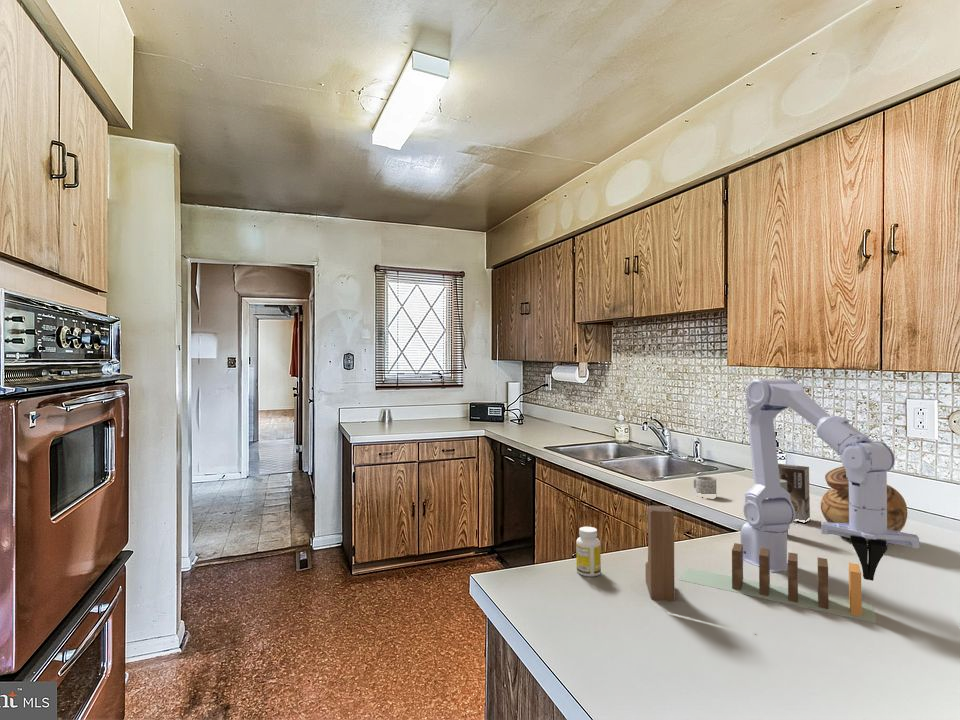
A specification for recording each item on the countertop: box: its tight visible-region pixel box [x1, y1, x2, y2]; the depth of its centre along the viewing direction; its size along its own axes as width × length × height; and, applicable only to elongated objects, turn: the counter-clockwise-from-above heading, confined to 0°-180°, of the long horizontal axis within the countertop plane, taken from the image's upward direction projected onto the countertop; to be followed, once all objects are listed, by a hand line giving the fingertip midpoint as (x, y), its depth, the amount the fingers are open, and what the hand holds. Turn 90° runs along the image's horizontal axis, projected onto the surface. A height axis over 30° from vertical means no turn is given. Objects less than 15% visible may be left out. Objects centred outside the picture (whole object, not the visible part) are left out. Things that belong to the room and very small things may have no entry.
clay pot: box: [820, 465, 909, 543], centre depth 136 cm, size 19×19×20 cm
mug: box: [692, 475, 717, 495], centre depth 182 cm, size 10×7×7 cm, turn 13°
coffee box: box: [778, 463, 811, 521], centre depth 155 cm, size 9×6×16 cm
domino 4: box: [817, 556, 829, 609], centre depth 99 cm, size 2×5×8 cm, turn 147°
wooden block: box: [645, 505, 675, 602], centre depth 104 cm, size 9×4×18 cm, turn 169°
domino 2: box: [758, 548, 771, 596], centre depth 104 cm, size 2×5×8 cm, turn 147°
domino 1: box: [731, 542, 744, 590], centre depth 107 cm, size 2×5×8 cm, turn 147°
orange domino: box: [848, 562, 862, 617], centre depth 96 cm, size 2×5×8 cm, turn 147°
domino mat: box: [678, 567, 878, 624], centre depth 103 cm, size 34×8×1 cm, turn 57°
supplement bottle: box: [575, 526, 602, 577], centre depth 114 cm, size 5×5×10 cm
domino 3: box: [787, 551, 799, 603], centre depth 101 cm, size 2×5×8 cm, turn 147°
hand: (868, 578), depth 95 cm, fingers closed
